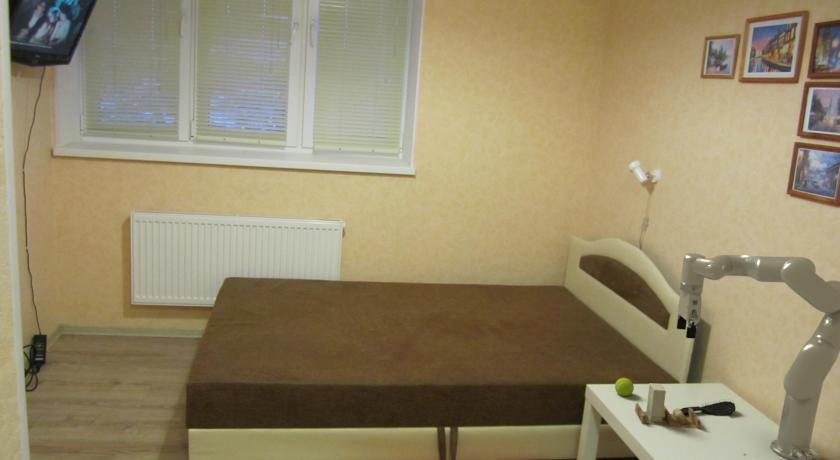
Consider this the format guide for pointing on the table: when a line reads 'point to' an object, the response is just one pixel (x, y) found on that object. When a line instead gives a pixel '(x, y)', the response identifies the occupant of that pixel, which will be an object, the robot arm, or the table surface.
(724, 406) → the hairbrush
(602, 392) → the table surface
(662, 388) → the skincare box
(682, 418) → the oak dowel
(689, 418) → the rack
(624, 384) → the tennis ball
